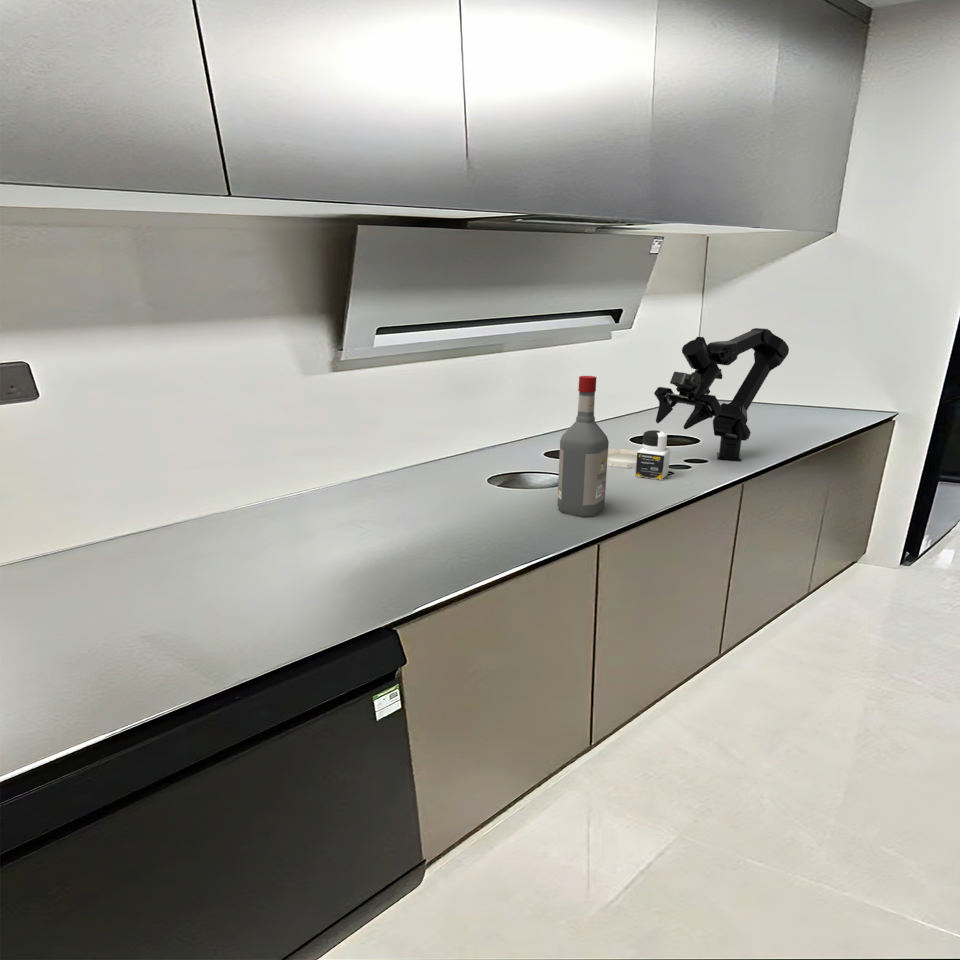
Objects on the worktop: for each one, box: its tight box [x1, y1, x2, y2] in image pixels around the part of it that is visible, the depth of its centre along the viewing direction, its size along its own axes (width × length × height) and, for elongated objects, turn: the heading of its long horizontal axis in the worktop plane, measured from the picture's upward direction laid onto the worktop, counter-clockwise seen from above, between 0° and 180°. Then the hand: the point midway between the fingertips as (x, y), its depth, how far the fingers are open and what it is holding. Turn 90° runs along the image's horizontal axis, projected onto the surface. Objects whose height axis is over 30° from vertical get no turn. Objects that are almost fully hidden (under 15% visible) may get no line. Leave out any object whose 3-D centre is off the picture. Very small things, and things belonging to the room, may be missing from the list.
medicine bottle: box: [635, 429, 671, 481], centre depth 175 cm, size 7×7×12 cm
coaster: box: [607, 448, 638, 467], centre depth 191 cm, size 16×16×2 cm
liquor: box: [557, 375, 610, 518], centre depth 146 cm, size 9×9×30 cm
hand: (670, 425), depth 176 cm, fingers open, 9 cm apart
